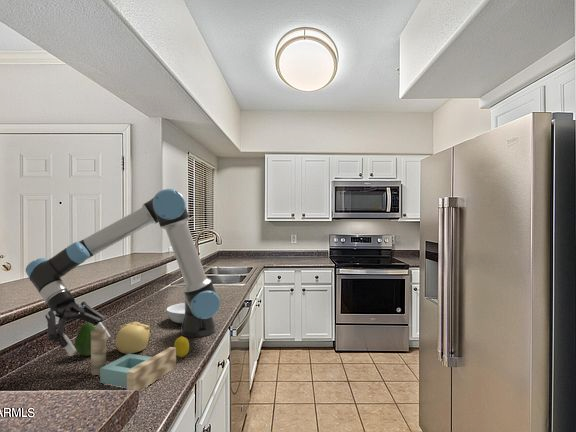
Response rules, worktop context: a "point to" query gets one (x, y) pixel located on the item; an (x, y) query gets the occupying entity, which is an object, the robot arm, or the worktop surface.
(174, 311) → the serving bowl
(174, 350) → the oak wall
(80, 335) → the avocado
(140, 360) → the socket block
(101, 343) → the dowel
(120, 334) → the sculpture
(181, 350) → the lemon
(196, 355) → the worktop surface
